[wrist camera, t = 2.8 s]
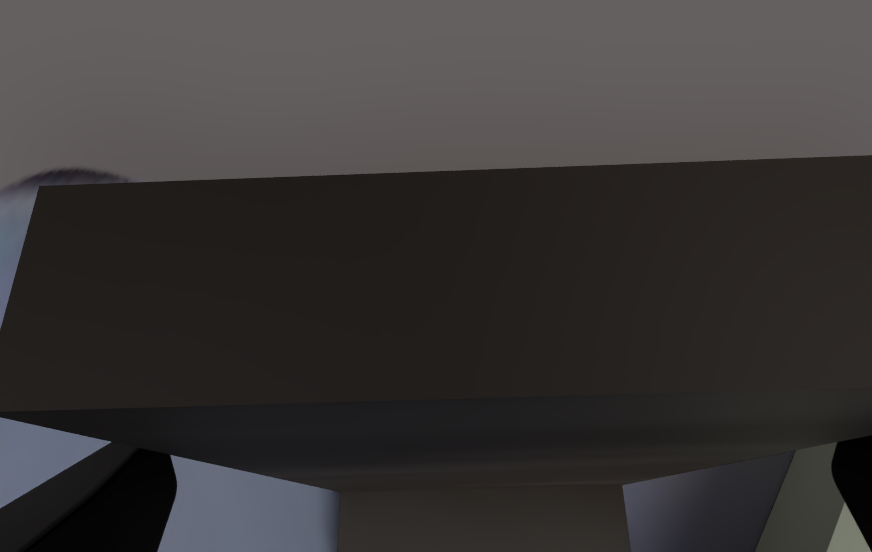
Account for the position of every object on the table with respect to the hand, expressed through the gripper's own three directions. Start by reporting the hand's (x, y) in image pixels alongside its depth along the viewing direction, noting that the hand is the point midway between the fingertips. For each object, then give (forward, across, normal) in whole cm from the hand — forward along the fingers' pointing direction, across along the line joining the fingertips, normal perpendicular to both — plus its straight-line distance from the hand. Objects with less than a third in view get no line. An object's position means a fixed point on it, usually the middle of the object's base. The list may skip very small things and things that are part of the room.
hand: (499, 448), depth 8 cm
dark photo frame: (+6, 0, +6) cm, 8 cm away
